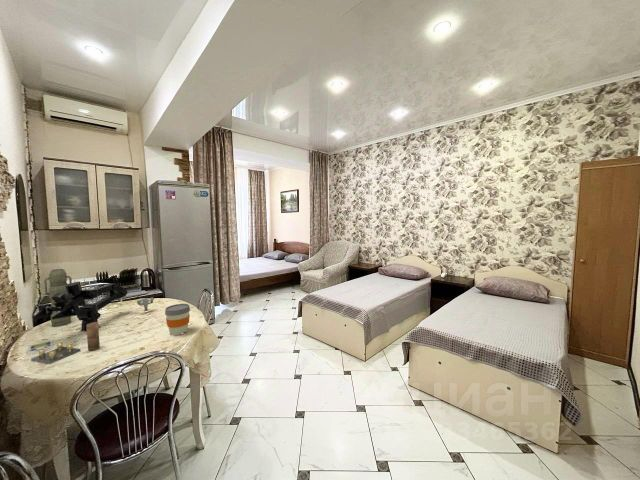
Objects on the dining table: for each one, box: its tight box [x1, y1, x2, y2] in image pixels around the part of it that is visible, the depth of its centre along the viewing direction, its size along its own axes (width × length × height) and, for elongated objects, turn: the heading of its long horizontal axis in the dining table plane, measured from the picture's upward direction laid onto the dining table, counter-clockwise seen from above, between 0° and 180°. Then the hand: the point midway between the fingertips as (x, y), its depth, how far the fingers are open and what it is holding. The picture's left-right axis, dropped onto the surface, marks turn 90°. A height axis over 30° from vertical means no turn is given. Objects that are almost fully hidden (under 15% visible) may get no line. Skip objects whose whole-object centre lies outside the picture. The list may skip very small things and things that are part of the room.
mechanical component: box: [136, 297, 155, 312], centre depth 178 cm, size 3×10×10 cm, turn 148°
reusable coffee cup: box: [164, 303, 191, 336], centre depth 146 cm, size 13×13×15 cm
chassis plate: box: [30, 342, 81, 365], centre depth 121 cm, size 12×12×4 cm
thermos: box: [43, 268, 73, 328], centre depth 159 cm, size 9×12×35 cm
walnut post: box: [86, 321, 101, 352], centre depth 127 cm, size 4×4×13 cm
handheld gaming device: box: [25, 339, 54, 356], centre depth 129 cm, size 9×1×15 cm
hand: (42, 318), depth 125 cm, fingers open, 9 cm apart
